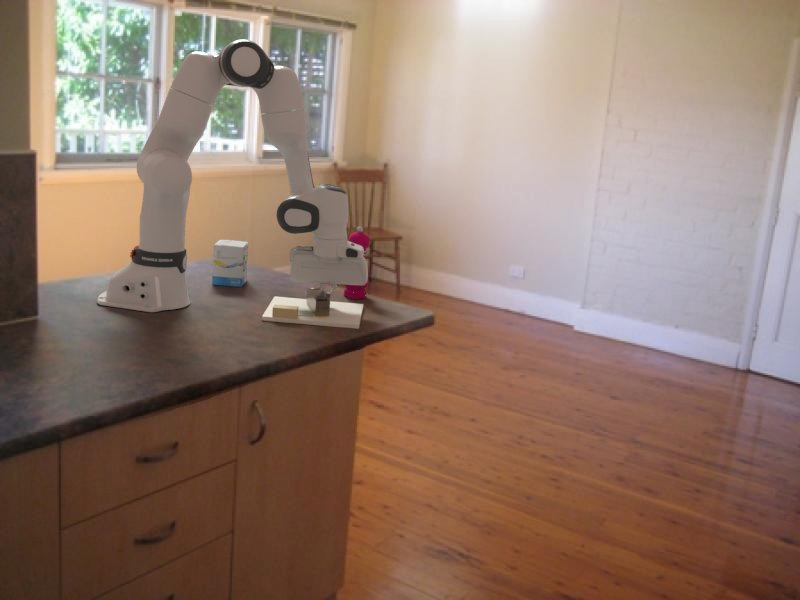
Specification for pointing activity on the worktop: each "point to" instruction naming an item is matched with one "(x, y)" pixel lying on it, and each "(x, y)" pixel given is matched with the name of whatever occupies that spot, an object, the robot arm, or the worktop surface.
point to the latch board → (302, 313)
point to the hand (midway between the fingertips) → (328, 299)
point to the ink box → (230, 263)
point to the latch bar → (318, 301)
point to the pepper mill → (364, 241)
